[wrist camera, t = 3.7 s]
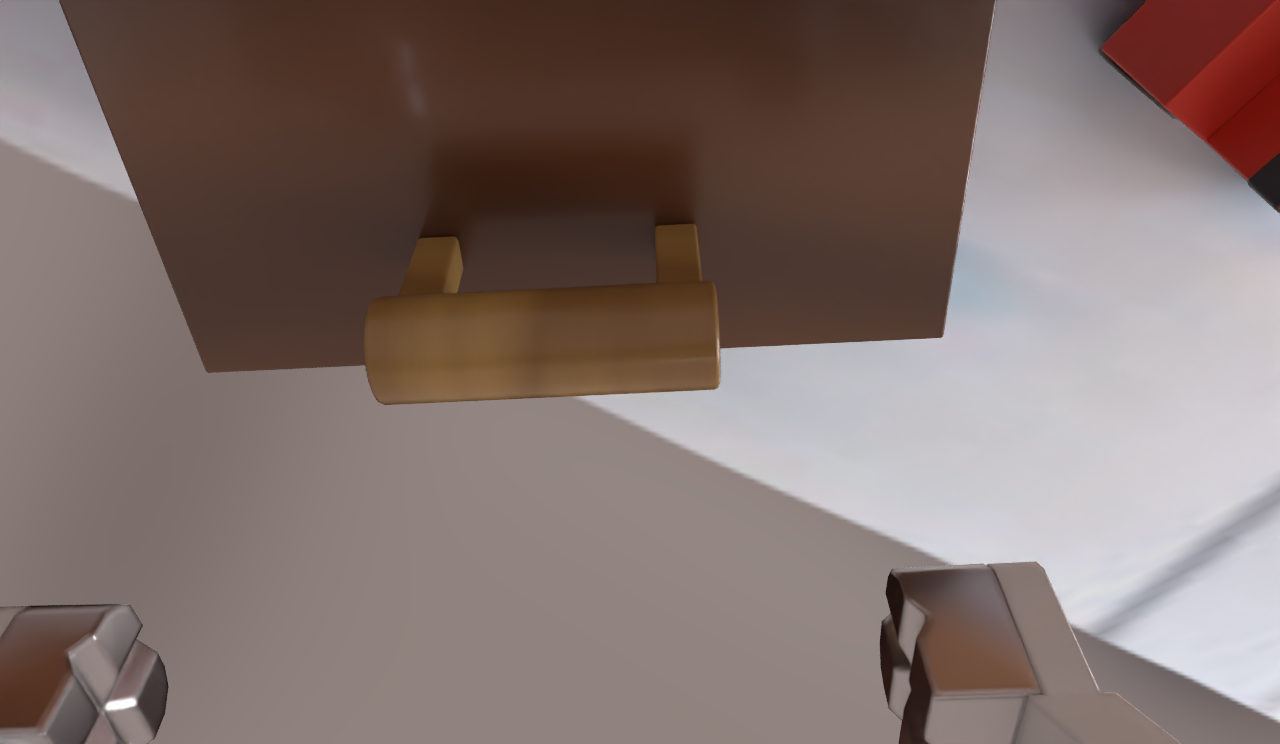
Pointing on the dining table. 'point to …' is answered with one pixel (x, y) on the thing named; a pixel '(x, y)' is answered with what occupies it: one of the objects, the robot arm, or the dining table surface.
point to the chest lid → (542, 180)
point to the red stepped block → (1212, 76)
